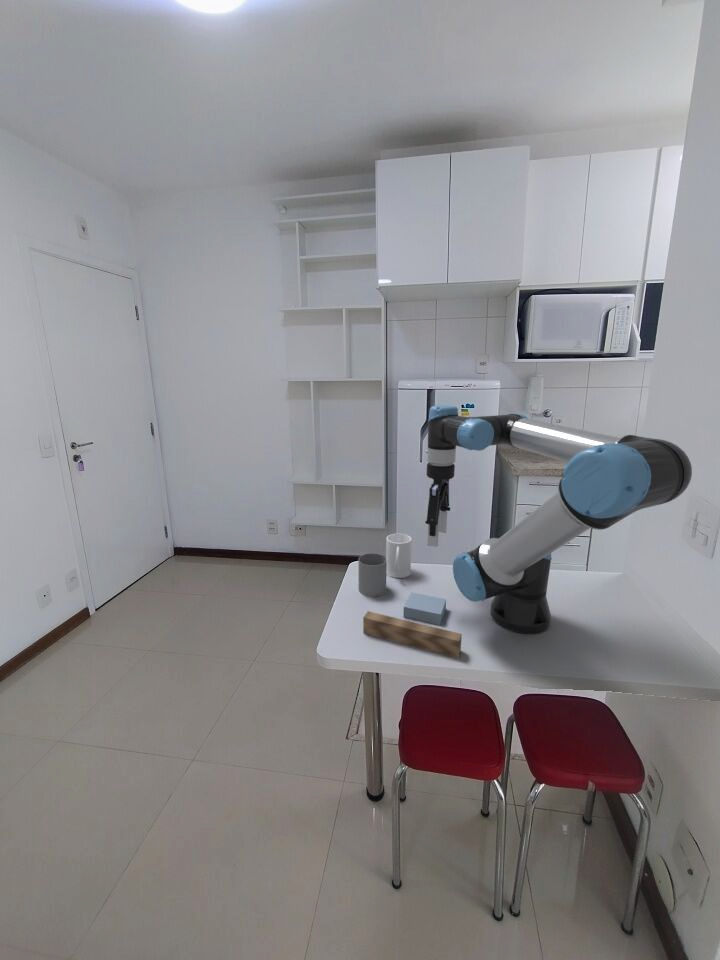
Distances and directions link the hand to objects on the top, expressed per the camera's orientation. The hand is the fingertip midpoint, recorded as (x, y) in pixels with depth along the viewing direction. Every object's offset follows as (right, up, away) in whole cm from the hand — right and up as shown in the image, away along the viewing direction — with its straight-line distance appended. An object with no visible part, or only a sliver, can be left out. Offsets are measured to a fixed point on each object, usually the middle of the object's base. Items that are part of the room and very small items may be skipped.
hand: (437, 538), depth 122 cm
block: (-4, -20, -5) cm, 21 cm away
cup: (-18, -17, +7) cm, 26 cm away
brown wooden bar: (-10, -23, -17) cm, 30 cm away
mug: (-10, -14, +16) cm, 24 cm away
